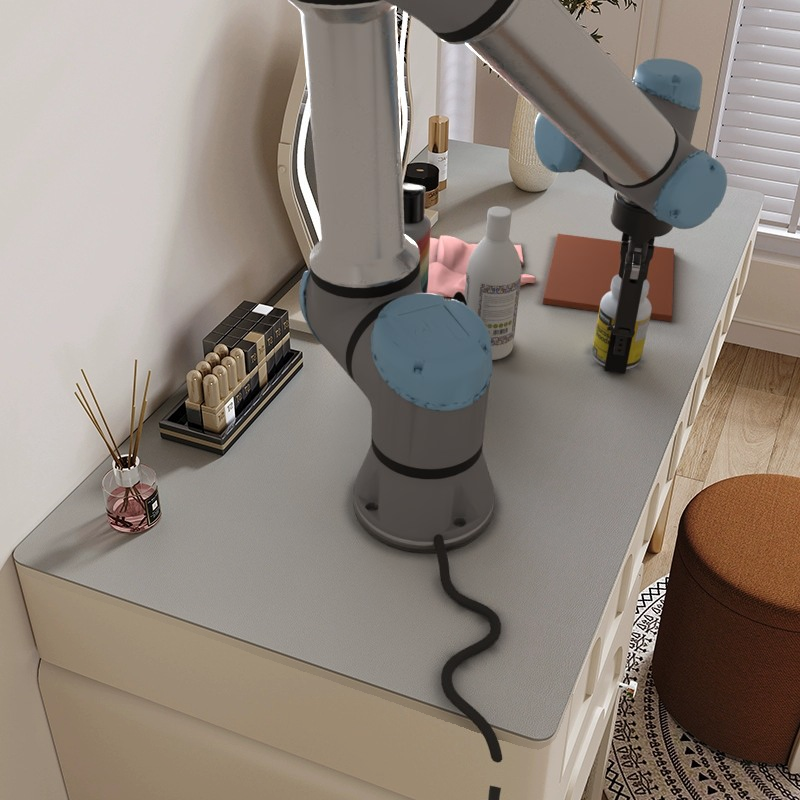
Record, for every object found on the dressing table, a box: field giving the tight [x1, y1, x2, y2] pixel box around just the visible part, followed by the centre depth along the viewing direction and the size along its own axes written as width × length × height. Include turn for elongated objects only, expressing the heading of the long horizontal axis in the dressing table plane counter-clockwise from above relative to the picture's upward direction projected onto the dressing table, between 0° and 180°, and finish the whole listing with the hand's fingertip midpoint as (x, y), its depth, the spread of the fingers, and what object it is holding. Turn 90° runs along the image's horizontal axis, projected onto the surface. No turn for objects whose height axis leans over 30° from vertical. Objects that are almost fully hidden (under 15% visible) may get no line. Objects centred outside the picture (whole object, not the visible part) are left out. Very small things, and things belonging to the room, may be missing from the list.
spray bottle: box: [403, 182, 432, 293], centre depth 136 cm, size 6×6×20 cm
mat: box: [542, 233, 675, 323], centre depth 152 cm, size 20×18×1 cm
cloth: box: [427, 235, 536, 298], centre depth 153 cm, size 20×22×2 cm
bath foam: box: [464, 205, 523, 361], centre depth 131 cm, size 7×7×20 cm
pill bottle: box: [591, 274, 652, 370], centre depth 132 cm, size 6×6×12 cm
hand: (616, 355), depth 136 cm, fingers closed on pill bottle, 6 cm apart
